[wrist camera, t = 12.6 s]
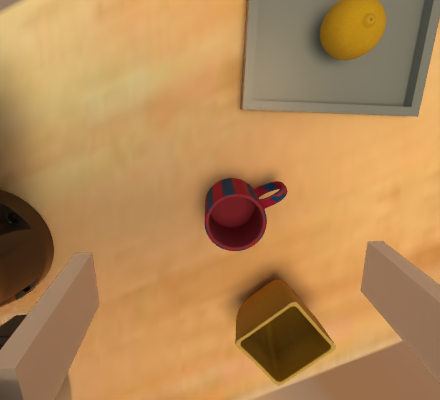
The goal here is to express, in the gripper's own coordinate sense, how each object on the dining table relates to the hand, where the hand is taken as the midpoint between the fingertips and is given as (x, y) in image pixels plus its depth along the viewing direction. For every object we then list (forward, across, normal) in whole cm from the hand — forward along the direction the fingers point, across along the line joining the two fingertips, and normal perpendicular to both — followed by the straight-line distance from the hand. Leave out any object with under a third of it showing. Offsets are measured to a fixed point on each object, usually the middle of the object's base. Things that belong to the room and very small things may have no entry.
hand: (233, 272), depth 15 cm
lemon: (+25, -14, -14) cm, 32 cm away
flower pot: (+25, -8, +20) cm, 33 cm away
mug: (+26, -4, +4) cm, 26 cm away
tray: (+25, -14, -14) cm, 32 cm away
